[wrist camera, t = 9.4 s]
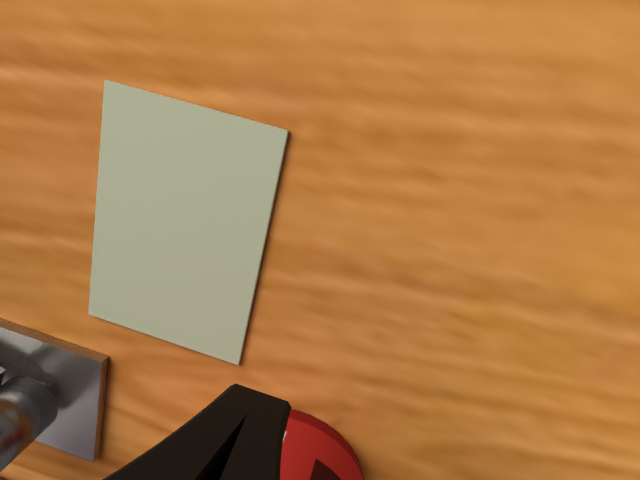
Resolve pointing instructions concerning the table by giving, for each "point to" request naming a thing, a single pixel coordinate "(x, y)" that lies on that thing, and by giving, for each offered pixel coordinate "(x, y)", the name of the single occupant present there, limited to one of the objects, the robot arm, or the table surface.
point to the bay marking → (181, 218)
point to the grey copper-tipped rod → (22, 414)
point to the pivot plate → (60, 385)
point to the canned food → (316, 452)
